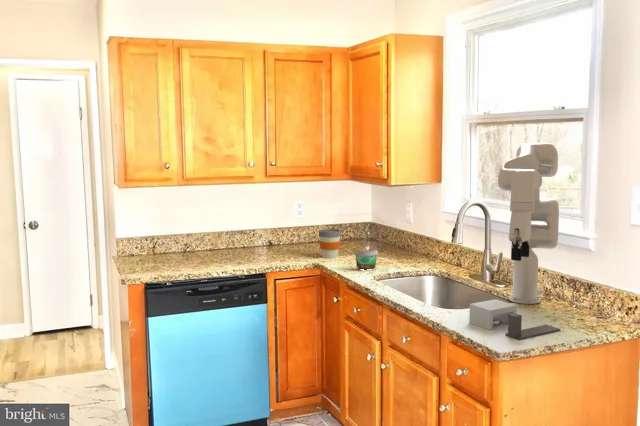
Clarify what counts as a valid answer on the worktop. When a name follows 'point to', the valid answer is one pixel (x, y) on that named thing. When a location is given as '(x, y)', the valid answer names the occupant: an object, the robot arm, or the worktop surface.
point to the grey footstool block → (490, 312)
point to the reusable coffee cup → (329, 242)
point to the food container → (366, 259)
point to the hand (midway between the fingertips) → (520, 258)
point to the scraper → (519, 334)
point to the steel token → (496, 321)
